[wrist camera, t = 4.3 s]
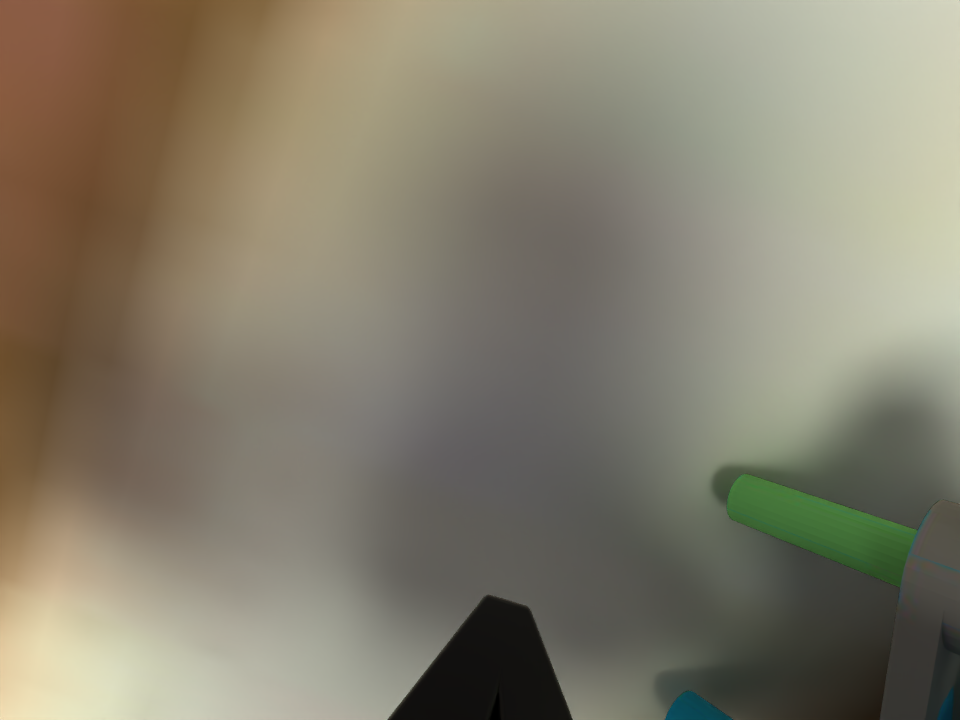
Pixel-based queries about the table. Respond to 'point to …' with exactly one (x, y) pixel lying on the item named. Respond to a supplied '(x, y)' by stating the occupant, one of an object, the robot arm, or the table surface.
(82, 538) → the table surface
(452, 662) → the robot arm
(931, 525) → the gear
